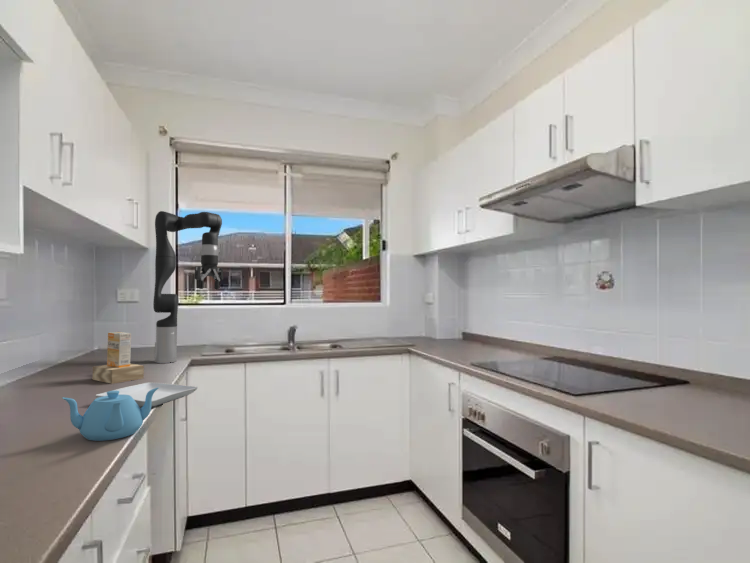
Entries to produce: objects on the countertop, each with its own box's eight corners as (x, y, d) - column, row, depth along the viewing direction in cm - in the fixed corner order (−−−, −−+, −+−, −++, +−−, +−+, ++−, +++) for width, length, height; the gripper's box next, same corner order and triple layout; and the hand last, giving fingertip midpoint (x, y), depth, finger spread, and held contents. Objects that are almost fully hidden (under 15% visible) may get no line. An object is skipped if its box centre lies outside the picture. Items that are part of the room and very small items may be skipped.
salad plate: (199, 395, 143) (199, 385, 143) (149, 412, 123) (150, 400, 123) (148, 391, 149) (148, 381, 149) (92, 406, 129) (93, 394, 129)
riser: (92, 379, 166) (92, 366, 166) (123, 374, 176) (124, 362, 176) (111, 383, 159) (112, 370, 159) (143, 378, 169) (143, 365, 169)
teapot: (110, 423, 112) (111, 383, 112) (161, 426, 109) (162, 386, 109) (59, 442, 97) (60, 396, 98) (117, 446, 95) (118, 400, 95)
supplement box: (106, 366, 168) (107, 332, 168) (118, 364, 172) (119, 331, 172) (118, 368, 163) (119, 333, 164) (130, 366, 168) (131, 332, 168)
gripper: (217, 256, 211) (216, 289, 210) (191, 253, 199) (190, 288, 198) (227, 255, 207) (226, 289, 207) (201, 253, 195) (201, 288, 194)
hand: (209, 289), depth 202 cm, fingers open, 8 cm apart
